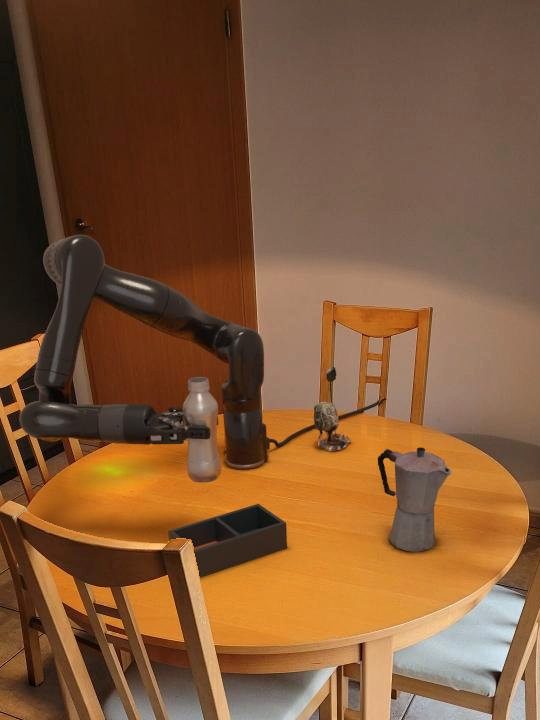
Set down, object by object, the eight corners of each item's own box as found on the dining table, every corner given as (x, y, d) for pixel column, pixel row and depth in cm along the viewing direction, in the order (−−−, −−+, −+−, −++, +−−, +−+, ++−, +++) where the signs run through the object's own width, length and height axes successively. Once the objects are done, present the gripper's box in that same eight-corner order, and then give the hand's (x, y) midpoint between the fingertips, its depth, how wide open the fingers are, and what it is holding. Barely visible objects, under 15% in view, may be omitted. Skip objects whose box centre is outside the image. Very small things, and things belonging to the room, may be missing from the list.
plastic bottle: (188, 473, 156) (180, 375, 147) (222, 472, 156) (216, 373, 147) (186, 487, 150) (178, 385, 141) (222, 485, 150) (216, 384, 141)
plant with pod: (304, 447, 201) (302, 370, 192) (337, 436, 207) (337, 361, 198) (324, 456, 195) (324, 377, 186) (358, 445, 201) (359, 368, 192)
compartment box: (170, 556, 152) (168, 530, 150) (259, 528, 162) (258, 503, 159) (195, 579, 144) (192, 552, 142) (287, 548, 154) (286, 522, 151)
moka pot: (437, 561, 148) (443, 463, 139) (363, 542, 155) (364, 447, 146) (456, 540, 155) (463, 445, 146) (384, 523, 162) (387, 431, 153)
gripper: (112, 418, 142) (204, 420, 140) (136, 393, 155) (220, 395, 152) (117, 457, 145) (206, 460, 143) (140, 429, 158) (223, 431, 156)
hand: (213, 426), depth 148 cm, fingers closed on plastic bottle, 6 cm apart
